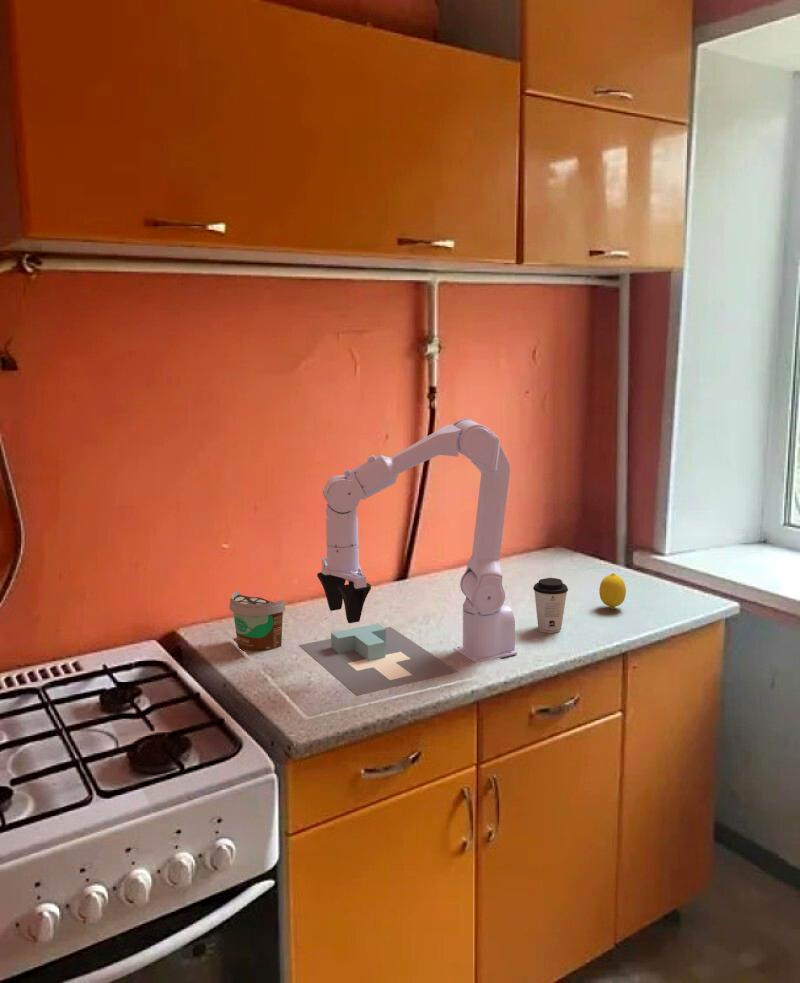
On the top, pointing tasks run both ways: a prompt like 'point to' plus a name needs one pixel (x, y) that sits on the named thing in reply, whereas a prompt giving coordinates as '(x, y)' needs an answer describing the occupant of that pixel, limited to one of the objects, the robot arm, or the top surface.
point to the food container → (257, 622)
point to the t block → (361, 641)
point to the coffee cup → (550, 604)
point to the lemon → (612, 590)
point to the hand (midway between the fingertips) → (344, 615)
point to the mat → (379, 664)
